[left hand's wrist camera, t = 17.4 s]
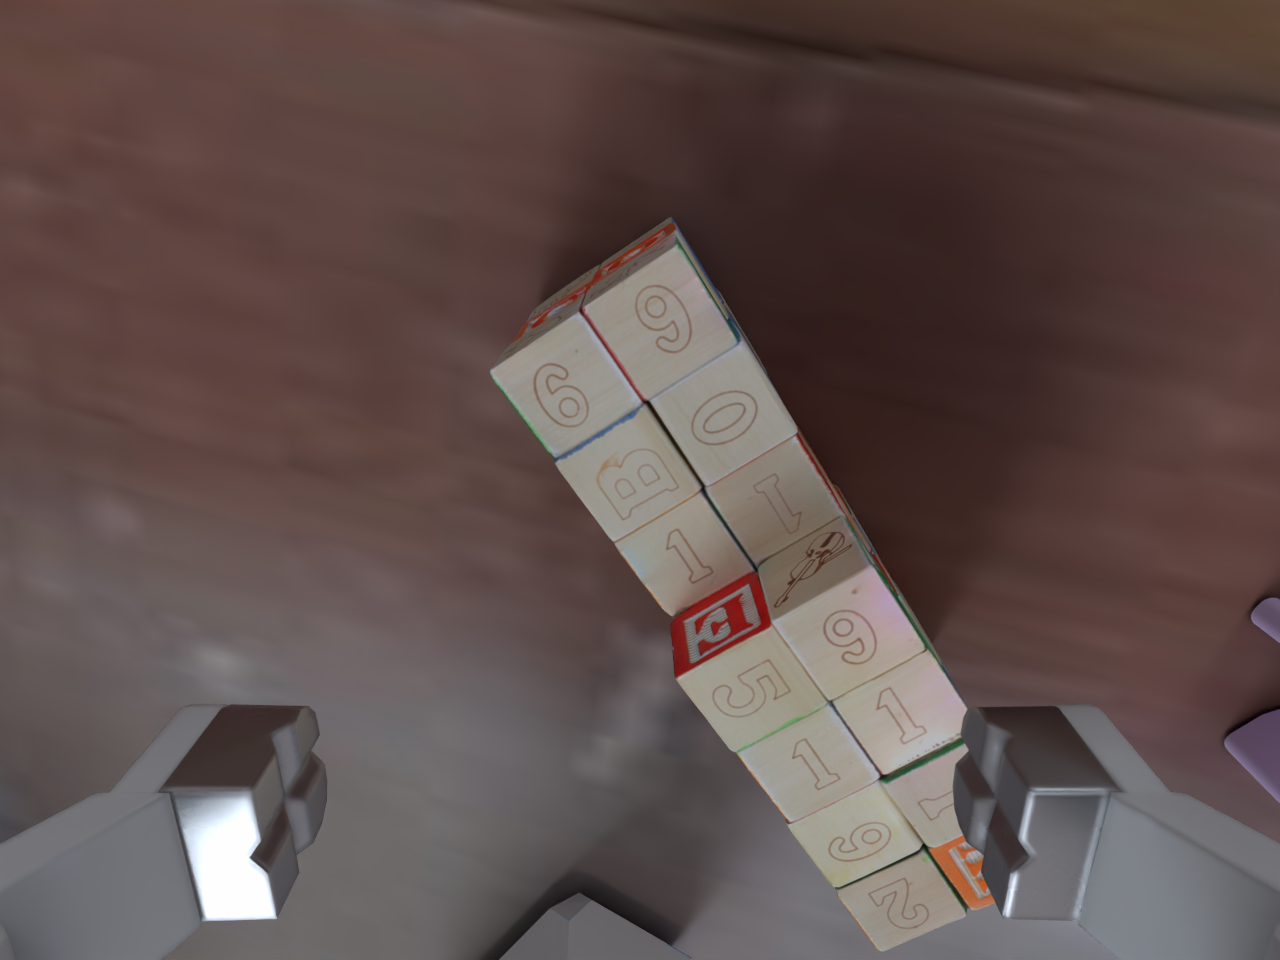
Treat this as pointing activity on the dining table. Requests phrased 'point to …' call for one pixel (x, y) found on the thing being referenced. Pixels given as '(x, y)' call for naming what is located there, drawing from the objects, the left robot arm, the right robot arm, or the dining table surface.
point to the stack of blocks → (756, 576)
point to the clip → (1261, 720)
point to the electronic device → (588, 936)
